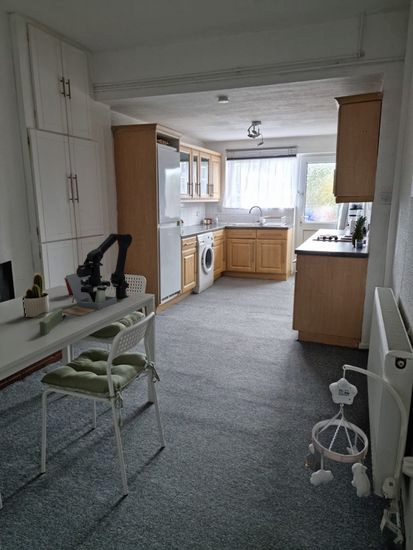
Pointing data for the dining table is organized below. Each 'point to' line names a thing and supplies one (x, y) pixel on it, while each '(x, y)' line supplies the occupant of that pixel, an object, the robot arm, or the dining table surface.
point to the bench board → (78, 310)
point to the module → (98, 297)
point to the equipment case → (85, 294)
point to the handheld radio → (51, 321)
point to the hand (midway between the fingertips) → (97, 301)
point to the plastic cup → (68, 287)
